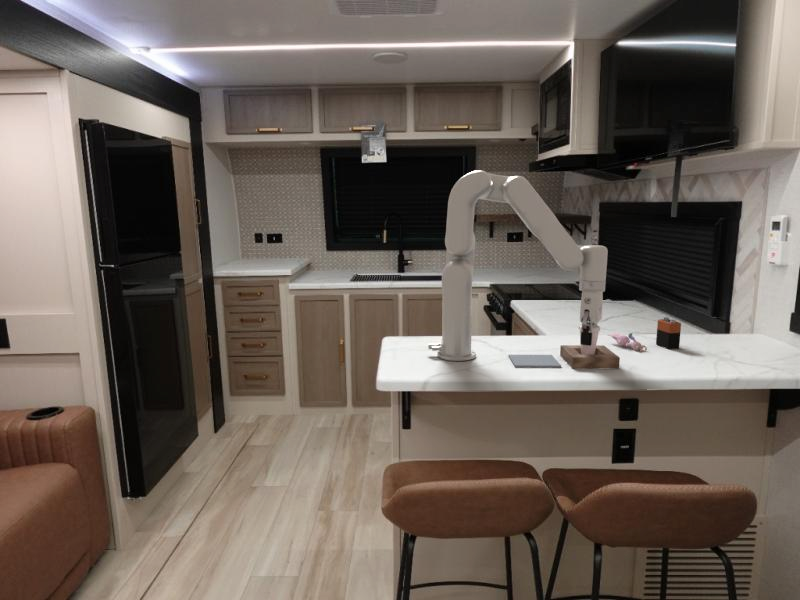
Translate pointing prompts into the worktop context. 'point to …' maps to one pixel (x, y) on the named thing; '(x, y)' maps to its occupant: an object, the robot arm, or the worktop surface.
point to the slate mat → (534, 361)
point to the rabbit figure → (627, 341)
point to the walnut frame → (589, 357)
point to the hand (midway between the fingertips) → (588, 342)
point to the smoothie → (591, 349)
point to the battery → (668, 333)
